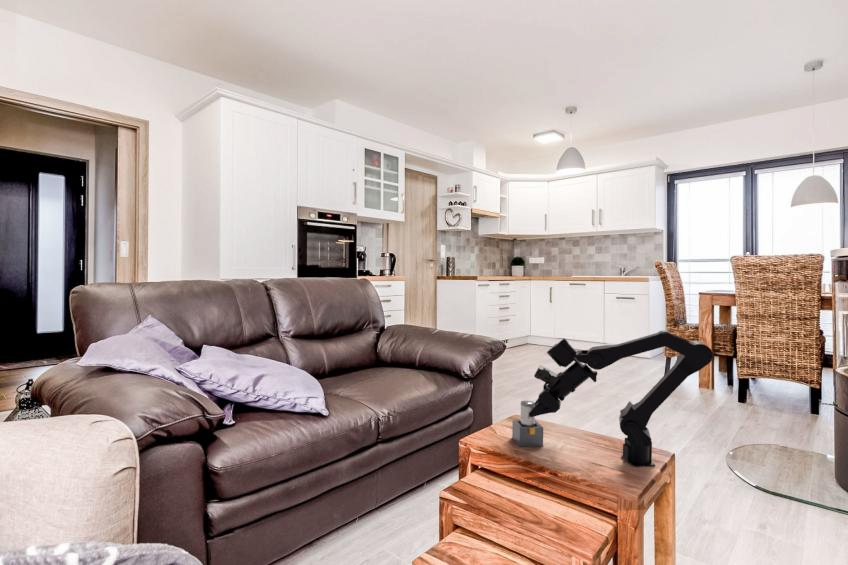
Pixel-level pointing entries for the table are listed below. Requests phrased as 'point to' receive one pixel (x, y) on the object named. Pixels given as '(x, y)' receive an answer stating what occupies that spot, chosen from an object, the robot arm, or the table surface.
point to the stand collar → (527, 434)
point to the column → (527, 414)
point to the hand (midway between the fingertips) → (531, 411)
